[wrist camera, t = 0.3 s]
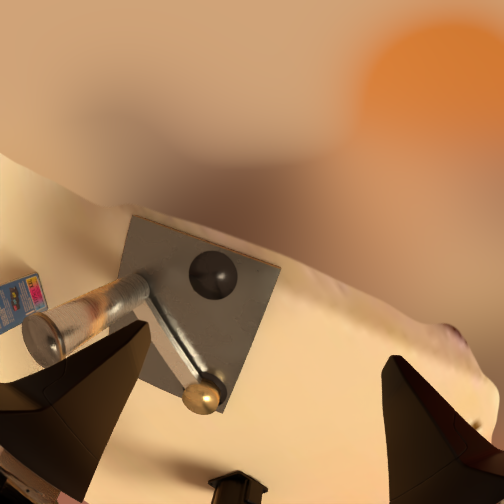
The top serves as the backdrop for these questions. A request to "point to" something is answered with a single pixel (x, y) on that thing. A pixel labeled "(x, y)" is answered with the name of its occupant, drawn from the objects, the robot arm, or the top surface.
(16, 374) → the top surface
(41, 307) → the ink cartridge box
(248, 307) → the bolt plate
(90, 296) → the crank handle
